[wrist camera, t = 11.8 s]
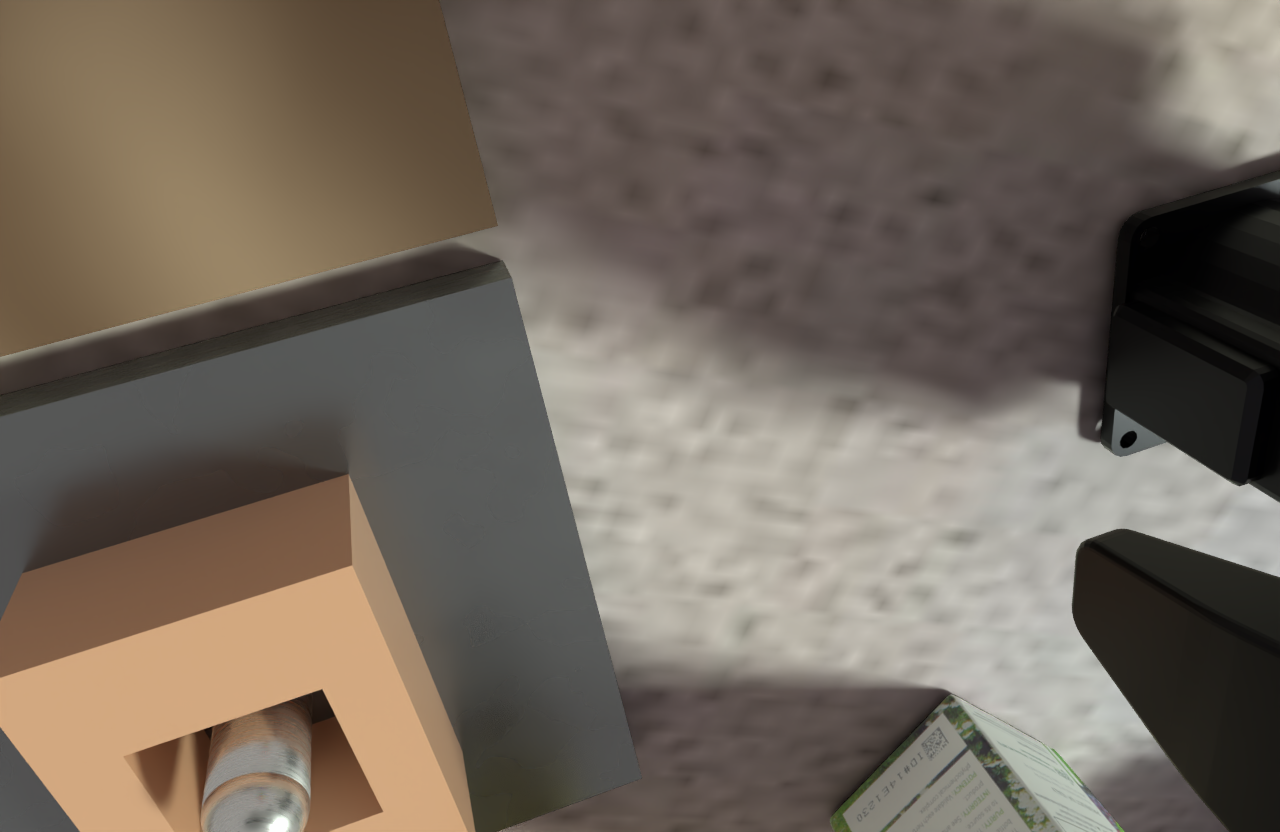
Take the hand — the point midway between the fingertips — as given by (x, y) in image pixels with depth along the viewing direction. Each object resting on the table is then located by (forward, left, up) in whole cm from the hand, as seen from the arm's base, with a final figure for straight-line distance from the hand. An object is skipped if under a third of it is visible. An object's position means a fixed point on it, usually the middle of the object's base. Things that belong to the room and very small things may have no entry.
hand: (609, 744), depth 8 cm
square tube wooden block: (+6, +7, -11) cm, 14 cm away
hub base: (+6, +7, -12) cm, 15 cm away
